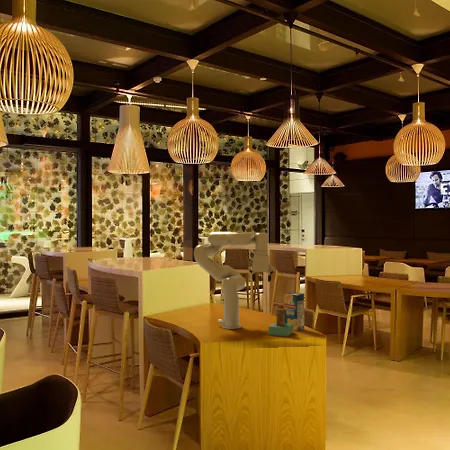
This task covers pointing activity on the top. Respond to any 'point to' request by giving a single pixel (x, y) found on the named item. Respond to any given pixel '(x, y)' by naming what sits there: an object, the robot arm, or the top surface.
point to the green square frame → (280, 330)
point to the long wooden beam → (280, 317)
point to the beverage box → (294, 310)
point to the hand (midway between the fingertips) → (261, 281)
